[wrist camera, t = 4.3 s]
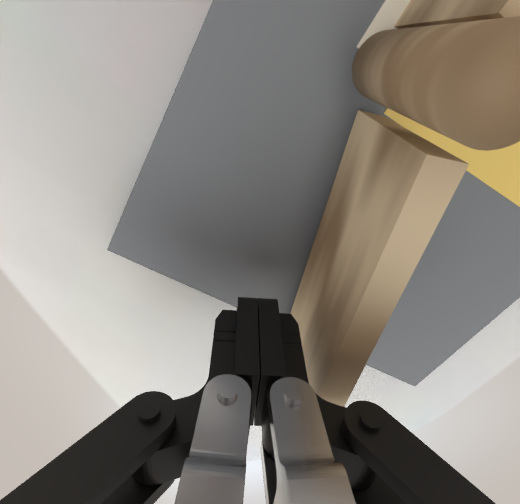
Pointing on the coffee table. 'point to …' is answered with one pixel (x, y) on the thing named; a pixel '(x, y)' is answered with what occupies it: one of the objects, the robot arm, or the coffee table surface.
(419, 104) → the wooden toy fence
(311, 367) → the fence panel
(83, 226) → the coffee table surface
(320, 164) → the card
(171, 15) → the coffee table surface
